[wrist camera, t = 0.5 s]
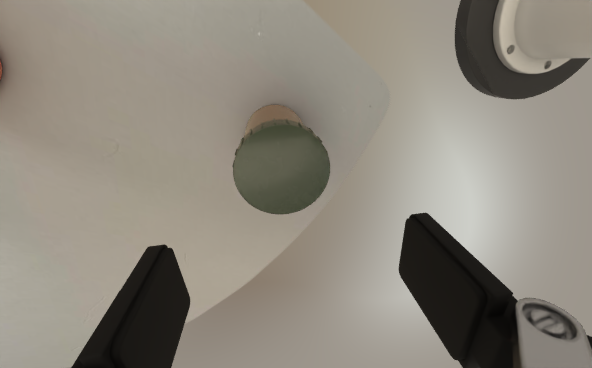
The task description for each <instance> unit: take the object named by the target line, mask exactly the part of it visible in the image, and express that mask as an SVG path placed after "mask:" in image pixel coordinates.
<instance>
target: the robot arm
mask: <svg viewBox="0 0 592 368" xmlns="http://www.w3.org/2000/svg"><path fill="white" fill-rule="evenodd" d="M493 41H494V47H495V50H496V53H497V55H498V58H499V59H500V60H501V62H502V63H503V64H504V65H505V66H506V67H507V68H509V69H510V70H512V71H515V72H517V73H524V74H539V73H544V72H548V71H550V70H552V69H555V68H557V67H559V66H561V65H562V64H564V63H565V62H567V61H569V60H570V59H571V58H592V0H499V2H498V5H497V8H496V12H495V17H494V23H493ZM399 273H400V276H401V278H402V279H403V281H404V283H405V284H406V286H407V287H408V289H409V291H410V292H411V294H412V295H413V297H414V298H415V300H416V301H417V303H418V305H419V306H420V308H421V309H422V311H423V313H424V314H425V316H426V317H427V319H428V321H429V322H430V324H431V325H432V327H433V328H434V330H435V332H436V333H437V334H438V336H439V338H440V339H441V341H442V343H443V344H444V346H445V347H446V349H447V350H448V352H449V354H450V355H451V356H452V358H453V359H455V360H458V361H459V362H460V364H461V365H462V367H463V368H592V337H590V336H588V335H586V332H585V330H584V329H583V327H582V325H581V324H580V323H579V322H578V321H577V320H576V319H575V318H574V317H573V316H572V315H570V314H569V313H568V312H567V311H565V310H563V309H562V308H560V307H558V306H556V305H554V304H552V303H550V302H547V301H544V300H541V299H536V298H523V299H520V300H519V301H517V300H516V299H515V298H514V297H513V296H512V294H513V293H512V292H511V291H510V290H509V289H508V288H507V287H506V286H505V285H504V284H503V283H502V282H501V281H500V280H499V279H497V278H496V277H495V276H494V275H493V274H492V273H491V272H490V271H489V270H488V269H487V268H486V267H484V266H483V265H482V264H481V263H480V262H479V261H478V260H477V259H476V258H475V257H474V256H473V255H472V254H470V253H469V252H468V251H467V250H466V249H465V248H464V247H463V246H462V245H461V244H460V243H459V242H458V241H456V239H454V238H453V237H452V236H451V235H450V234H449V233H448V232H447V231H446V230H445V229H444V228H443V227H441V226H440V225H439V224H438V223H437V222H436V221H435V220H434V219H433V218H432V217H431V216H430V215H429V214H427V213H420V214H412V215H411V216H410V217H409V219H407V220H406V223H405V230H404V237H403V243H402V250H401V256H400V263H399ZM189 307H190V296H189V294H188V291H187V288H186V285H185V282H184V280H183V277H182V274H181V271H180V268H179V266H178V263H177V260H176V257H175V254H174V252H173V249H172V248H168V247H167V246H166V245H158V246H150V247H148V248H147V249H146V251H145V252H144V254H143V255H142V257H141V259H140V260H139V262H138V263H137V265H136V267H135V268H134V270H133V271H132V273H131V274H130V276H129V278H128V279H127V281H126V282H125V284H124V286H123V287H122V289H121V290H120V291H119V293H118V294H117V296H116V298H115V299H114V301H113V302H112V304H111V306H110V307H109V309H108V310H107V312H106V314H105V315H104V317H103V318H102V320H101V321H100V323H99V325H98V326H97V328H96V329H95V331H94V333H93V334H92V336H91V337H90V339H89V341H88V342H87V344H86V345H85V347H84V348H83V350H82V352H81V353H80V355H79V356H78V358H77V360H76V361H75V363H74V364H73V366H72V368H171V366H172V363H173V360H174V356H175V353H176V349H177V346H178V343H179V340H180V337H181V333H182V330H183V326H184V323H185V320H186V317H187V314H188V310H189Z"/></svg>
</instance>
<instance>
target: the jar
mask: <svg viewBox="0 0 592 368" xmlns="http://www.w3.org/2000/svg"><path fill="white" fill-rule="evenodd" d="M273 119H275V120H279V119H283V120H286V119H288V120H291V121H295V122H300V123H301V124H302V125H304V124H303V123H302V121H301V120H300V118H299V117H298V116H297V115H296V113H294V112H293V111H292V110H291V109H289V108H287V107H285V106H281V105H268V106H265V107H262V108H260V109H258V110H257V111H256V112H255V113H254V114H253V115H252V116H251V117H250V119H249V121H248V123H247V126H246V130H245V135H244V137H245V136H246V134H247V133H248V132H249V131H250V129H253V128H255V127H256V126H258V125H260V124H261V122H262V123H264V122H267V121H271V120H273Z"/></svg>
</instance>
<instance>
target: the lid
mask: <svg viewBox="0 0 592 368" xmlns="http://www.w3.org/2000/svg"><path fill="white" fill-rule="evenodd" d="M321 142H322V141H321V140H320V138H319V137H318V136H316V135H315V134H314V133H313V131H312V130H311V129H310V128H307V127H306V126H304V125H302V124H301V123H300V122H295V121H291V120H288V119H286V120H283V119H279V120H275V119H273V120H271V121H267V122H264V123H262V122H261V124H260V125H258V126H256V127H255V128H253V129H250V131H249V132H248V133H247V134H246V136H245V137H244V138H242V139H241V143H240V145H239V147H238V149H236V152H235V155H236V157H235V160H234V163H233V175H234V181H235V184H236V187H237V189H238V191H239V192H240V194H241V195H242V197H243V198H244V199H245V200H246V201H247V202H248V203H249V204H250V205H252V206H253V207H255V208H257V209H259V210H261V211H264V212H267V213H271V214H289V213H294V212H297V211H300V210H302V209H304V208H306V207H308V206H309V205H311V204H312V203H313V202H314V201H315V200H316V199H317V198H318V197H319V196H320V195H321V194H322V192H323V191H324V189H325V187H326V185H327V182H328V179H329V174H330V162H329V157H328V154H327V153H328V152H327V151H326V149H325V148H324V146H323V144H322V143H321Z"/></svg>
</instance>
